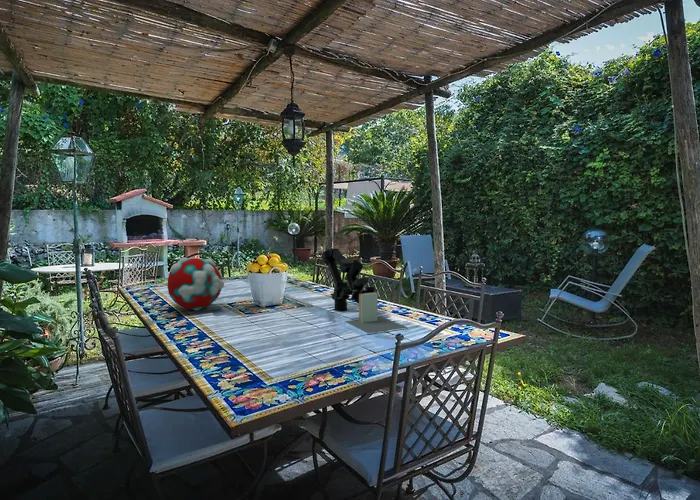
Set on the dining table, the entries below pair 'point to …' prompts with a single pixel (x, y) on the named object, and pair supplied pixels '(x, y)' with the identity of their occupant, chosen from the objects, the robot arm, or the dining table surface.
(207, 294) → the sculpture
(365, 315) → the tile
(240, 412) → the dining table surface
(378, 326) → the mat
